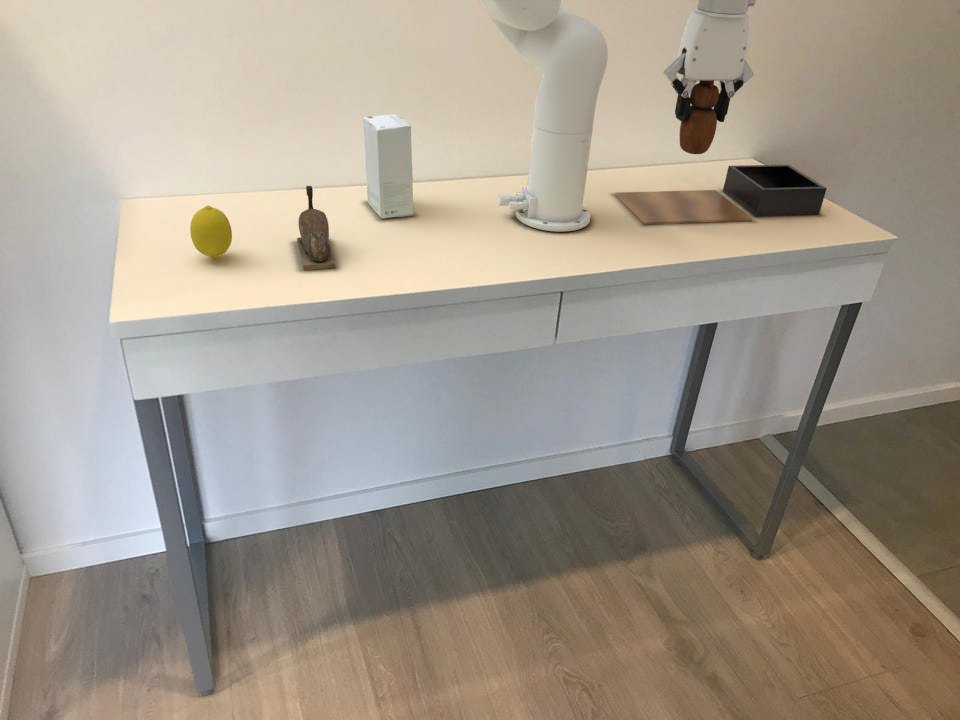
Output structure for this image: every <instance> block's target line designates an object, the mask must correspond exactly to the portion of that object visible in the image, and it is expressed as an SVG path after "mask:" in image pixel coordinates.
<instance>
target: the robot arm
mask: <svg viewBox="0 0 960 720" xmlns="http://www.w3.org/2000/svg"><path fill="white" fill-rule="evenodd" d="M478 1H479V4H480V7H481V8H482V10H483V11H484V13H485V14H486V15H487V17H488V18H489V20H490V21H491V22H492V23H493V24H494V25H495V27H496V28H497V29H498V30H499V32H500V33H501V34H502V35H503V36H504V37H505V38H506V39H507V41H508V42H509V43H510V45H511V46H512V47H513V48H514V49H515V50H516V52H518V54H519V55H520V56H521V57H522V58H523V60H525V61H526V62H527V63H528V64H529V65H530V66H532V67H533V68H534V69H536V70H538V71H540V72H541V73H542V78H541V81H540V85H539V88H538V92H537V94H536V97H535V101H534V108H533V117H532V131H531V141H530V153H529V164H528V175H527V186H522V187H521V191H519V192H516V194H509V193H505V194H503V193H502V194H498V195H497V205H498V207H508V210H509V211H515V217H516V219H517V220H518V221H519V222H520V223H522V224H524V225H526V226H528V227H531V228H533V229H537V230H542V231H546V232H556V233H557V232H559V233H561V232H565V233H566V232H574V231H578V230H581V229H583V228H585V227H587V226H588V225H589V224H590V221H591V212H590V211H589V209H587V208H586V207H585V206H584V199H585V190H586V183H587V175H588V168H589V160H590V152H591V144H592V137H593V129H594V121H595V113H596V107H597V102H598V97H599V93H600V89H601V85H602V82H603V79H604V77H605V76H604V75H605V73H606V69H607V65H608V58H609V50H608V43H607V41H606V37H605V36H604V34H603V32H602V31H601V30H600V28H598V26H597V25H595V24H594V23H593V22H591V21H590V20H588V19H586V18H584V17H581V16H579V15H577V14H574V13H571V12H568V11H566V10H564V8H563V7H562V6H561V4H562V3H561V2H562V0H478ZM755 5H756V0H698V2H697V6H696V10H691V11H690V14H689V16H688V18H687V21H686V24H685V26H684V30H683V33H682V37H681V41H680V44H679V48H678V52H677V56H676V59H674V61H672V62H671V63H670V64H669V66H667V67H666V68H665V69H664V70H663V75H664V78H666V79H667V81H668V82H669V84H670V85H671V86H672V88H673V89H674V91H675V93H676V94H677V97H676V98H677V99H676V102H675V103H676V104H675V108H674V115H675V118H676V119H677V120H678V121H679V122H680V123H681V122H686V121H687V120H688V115H689V110H690V106H691V98H690V94H691V91H692V89H693V87H694V85H695V84H697V82H700V81H711V80H714V82H715V81H716V82H717V81H718V85H719V97H718V101H717V104H716V105H715V106H714V107H713V109H714V110H715V113H716V115H717V122H719V123H724V122H725V120H726V116H727V115H728V112H729V106H730V102H731V99H732V98H734V96H735V94H736V92H738V91H739V90H740V89H741V88H742V87H743V86H744V84H746V83H747V82H748V81H749V80H750V79H752V77H753V76H754V71H753V70H752V68H751V66H750V65H749V63H748V62H747V60H746V56H747V55H746V54H747V48H748V41H749V24H750V21H749V20H750V19H749V18H750V16H749V15H748V14H747V12H748V9H749V7H754V6H755ZM677 74H679V75H682V77H681V79H679V78H678V76H677Z"/></svg>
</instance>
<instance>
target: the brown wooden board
mask: <svg viewBox="0 0 960 720" xmlns="http://www.w3.org/2000/svg"><path fill="white" fill-rule="evenodd" d="M615 196H616V197H617V198H618V199H619V200H620V201H621V202H622V203H623V204H624V205H625V206H626V207H627V208H628V209H629V210H630V211H631V212H632V213H633V214H634V215H635V217H636V218H637V219H638V220H639V221H640V222H641V223H642V224H643V225H666V224H667V225H668V224H669V225H670V224H699V223H700V224H701V223H727V222H732V223H733V222H752V219H753V218H752V217H750V216H749V215H748V214H746V213H745V212H744V211H743V210H741V209H740V208H739V207H738V206H736V205H735V204H734V203H732V202H731V201H730V200H729V199H728V198H726V197H725V196H724V195H723V194H721V193H720V192H719V191H718V190H716V189H709V190H707V189H706V190H703V189H702V190H666V191H665V190H663V191H623V192H621V191H620V192H615Z"/></svg>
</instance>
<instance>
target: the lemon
mask: <svg viewBox="0 0 960 720" xmlns="http://www.w3.org/2000/svg"><path fill="white" fill-rule="evenodd" d="M189 227H190V228H189V231H190V232H189V233H190V238H191V241H192V244H193V247H195V249H196V250H197V251H198V252H199V253H201V255H203V256H206V257H209V258H210V259H212V260H217V259H218V258H219V256H222V255H223V254H225V253H226V252H227V251H228V250H229V249H230V247H231V245H232V240H233V233H232V231H233V230H232V227H231V223H230V221H229V218H228V217H227V216H226V214H225V213H224V212H223V211H222V210H220V209H219V208H216V207H212V206H211V205H205V206H204V207H202V208H200V209H198V210H197V211H196V212H195V213H194V214H193V216H192V218H191V221H190V226H189Z"/></svg>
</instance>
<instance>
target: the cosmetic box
mask: <svg viewBox="0 0 960 720" xmlns="http://www.w3.org/2000/svg"><path fill="white" fill-rule="evenodd" d="M362 121H363V137H364V138H363V139H364V155H365V156H364V158H365V174H366V175H365V176H366V193H367V203H368V205H369V206H370V207H371V208H372V209H373V210H374V212H375V213H376V214H377V215H378V216H379V218H380V219H389V218H402V217H410V216H411V217H412V216H414V189H413V187H414V186H413V156H412V155H413V154H412V152H413V151H412V125H410V124H409V123H408V122H407V121H405V120H404V119H403V118H401V117H400V116H399V115H398V114H396V113H393V114H392V113H391V114H382V115H381V114H380V115H371V116H364V117H363V118H362Z"/></svg>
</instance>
